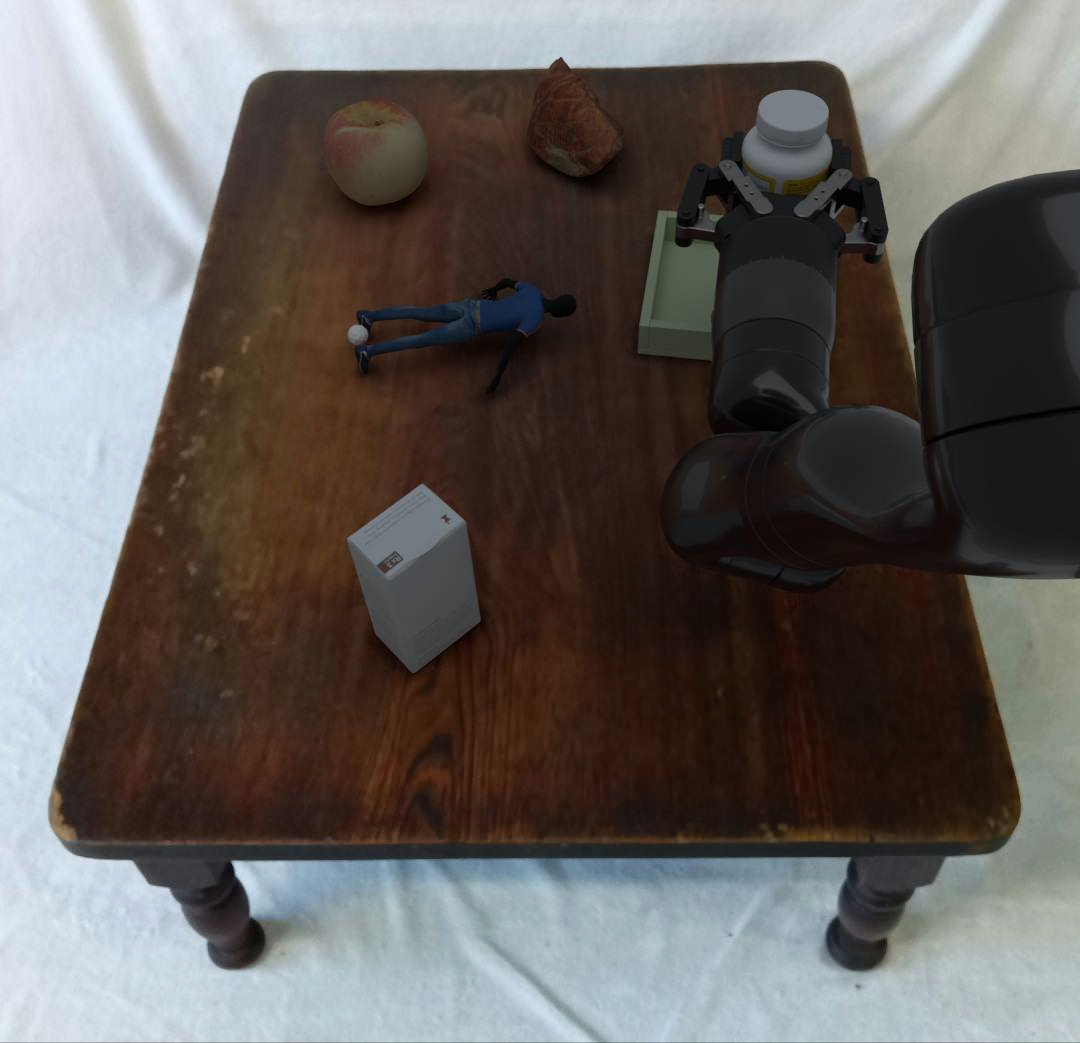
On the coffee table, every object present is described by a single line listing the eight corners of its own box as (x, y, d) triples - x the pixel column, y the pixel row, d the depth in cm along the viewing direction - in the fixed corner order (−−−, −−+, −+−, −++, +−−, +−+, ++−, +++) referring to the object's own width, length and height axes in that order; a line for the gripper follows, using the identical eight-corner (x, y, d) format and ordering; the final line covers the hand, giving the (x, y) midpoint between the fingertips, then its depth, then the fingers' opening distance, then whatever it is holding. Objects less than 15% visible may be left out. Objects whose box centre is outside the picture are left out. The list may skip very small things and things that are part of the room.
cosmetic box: (442, 584, 81) (422, 474, 72) (485, 625, 79) (470, 517, 70) (371, 638, 79) (340, 532, 69) (413, 682, 77) (388, 579, 67)
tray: (830, 253, 100) (837, 224, 97) (826, 372, 92) (833, 343, 89) (656, 238, 101) (658, 209, 99) (637, 353, 94) (638, 325, 91)
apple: (315, 190, 107) (298, 112, 100) (395, 148, 110) (383, 70, 103) (372, 238, 103) (357, 160, 96) (453, 192, 106) (444, 115, 99)
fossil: (522, 68, 111) (569, 6, 102) (601, 97, 114) (654, 39, 105) (508, 190, 107) (556, 137, 99) (591, 216, 111) (644, 167, 102)
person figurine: (358, 419, 93) (587, 383, 91) (340, 380, 89) (578, 342, 87) (364, 319, 99) (577, 283, 97) (347, 279, 95) (569, 241, 93)
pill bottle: (820, 220, 89) (847, 88, 80) (808, 274, 86) (835, 143, 77) (737, 207, 90) (755, 76, 81) (723, 260, 87) (740, 129, 78)
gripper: (905, 272, 71) (901, 105, 80) (662, 251, 72) (687, 90, 82) (879, 362, 77) (878, 196, 86) (656, 340, 78) (680, 180, 88)
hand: (785, 145), depth 84 cm, fingers closed on pill bottle, 6 cm apart
